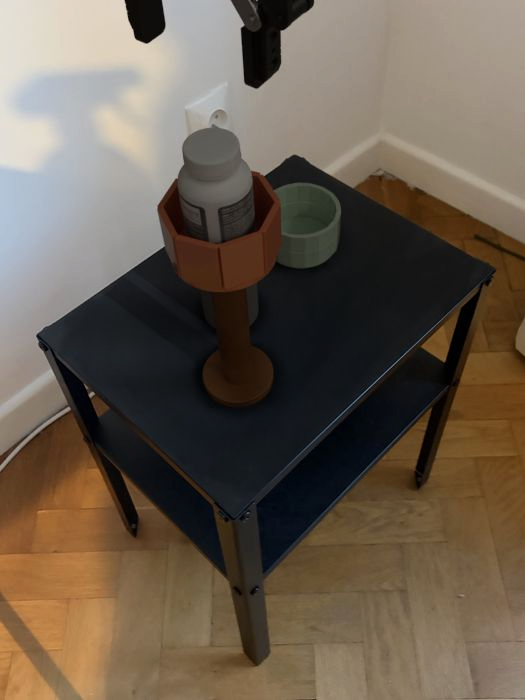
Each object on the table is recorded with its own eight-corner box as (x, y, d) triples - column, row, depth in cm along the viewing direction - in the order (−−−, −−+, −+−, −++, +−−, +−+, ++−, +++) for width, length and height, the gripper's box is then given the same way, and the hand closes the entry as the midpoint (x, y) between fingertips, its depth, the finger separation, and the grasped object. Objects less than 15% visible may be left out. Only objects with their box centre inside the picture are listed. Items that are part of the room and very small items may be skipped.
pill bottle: (256, 220, 59) (249, 118, 51) (257, 270, 56) (251, 169, 48) (189, 223, 59) (173, 122, 51) (187, 273, 56) (169, 173, 48)
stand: (219, 418, 70) (198, 296, 55) (193, 364, 74) (168, 236, 59) (285, 391, 71) (282, 266, 57) (256, 340, 75) (247, 210, 61)
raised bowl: (192, 307, 55) (184, 261, 51) (155, 233, 59) (145, 186, 55) (296, 270, 56) (296, 223, 52) (252, 201, 61) (249, 153, 57)
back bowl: (282, 279, 80) (281, 247, 76) (251, 229, 85) (248, 196, 81) (352, 254, 82) (355, 222, 78) (317, 206, 86) (318, 173, 82)
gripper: (-12, -286, 32) (77, 52, 45) (245, -234, 27) (262, 131, 40) (105, -327, 36) (156, -2, 49) (353, -288, 30) (336, 65, 43)
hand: (204, 58), depth 44 cm, fingers open, 8 cm apart
